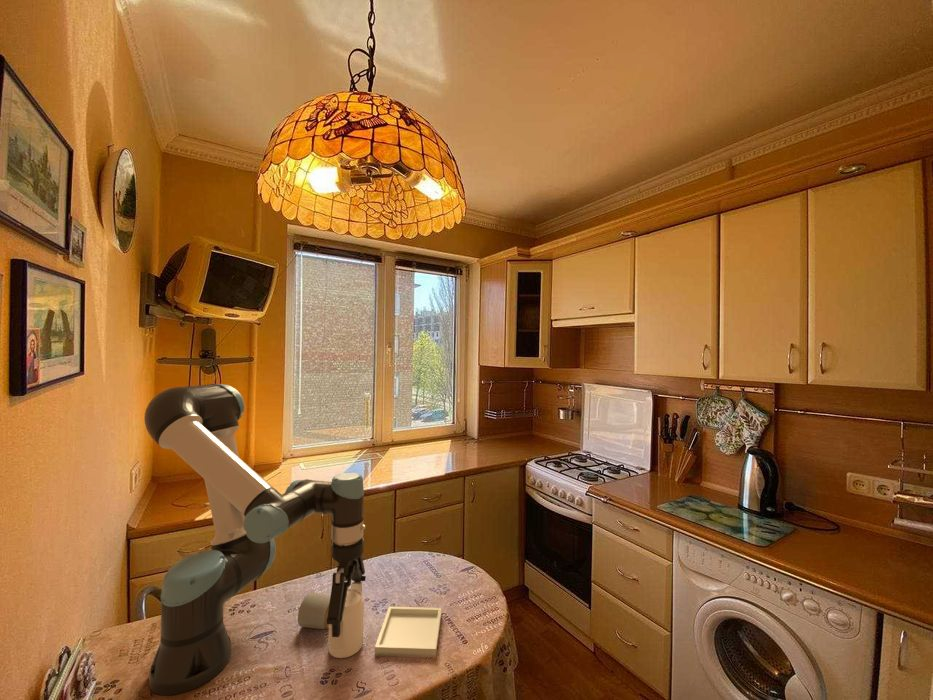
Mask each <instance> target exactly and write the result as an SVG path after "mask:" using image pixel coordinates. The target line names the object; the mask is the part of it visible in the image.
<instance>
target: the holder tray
mask: <svg viewBox="0 0 933 700" xmlns="http://www.w3.org/2000/svg"><path fill="white" fill-rule="evenodd" d="M442 610H443V609H442V607H418V606H417V607H415V606H413V607H412V606H388V609H387V611H386V615H385V616H384V620H383V623H382V626H381V628H380V632H379V635H378V637H377V640H376V643H375V646H374V656H377V657H402V658H403V657H404V658H407V657H411V658H436V659H437V651H438V645H439V636H440V630H441V623H442V622H441V621H442Z"/></svg>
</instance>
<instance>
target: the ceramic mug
mask: <svg viewBox="0 0 933 700" xmlns="http://www.w3.org/2000/svg"><path fill="white" fill-rule="evenodd" d="M330 596H331V595H327V594H323V593H318V592H313V591H310V592H308V593H307V594H306V595H305V596H304V598H303V599H302V600H301V603H300V607H299V609H298V614H297V624H298V626H299V627H300V628H309V629H318V630H329V624H327V621H326V620H327V617H328V610H329V603H330Z"/></svg>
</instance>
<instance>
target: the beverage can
mask: <svg viewBox="0 0 933 700" xmlns="http://www.w3.org/2000/svg"><path fill="white" fill-rule="evenodd" d="M364 611H365V600H364V596H363V593H362V594H361V592H360V591H358V590H356V589H351V588H348V591H347V596H346V601H345V606H344V612H343V617H342V618H344V648H343V649H331V624H329V628H328V644H327V645H328V647H327V648H328V652H329V654H330V655H331V656H332V657H334V658H337V659H345V658H349V657H351V656H354V655H355V654H357V653H358V652H359V651H360V650H361V648H362V647H363V644H364V616H365V614H364Z"/></svg>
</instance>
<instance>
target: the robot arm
mask: <svg viewBox="0 0 933 700" xmlns="http://www.w3.org/2000/svg"><path fill="white" fill-rule="evenodd" d="M243 412H245V401H244V399H243V396H242V394H241V393H240V392H239V391H238V390H237V389H236V388H234V387H233V386H231V385H229V384H226V383H225V384H223V383H220V384H218V383H211V384H209V383H208V384H201V385H200V384H199V385H190V386H174V387H170V388H167V389H164V390H162V391H160V392H159V393H157V395H155V396H153V398H152V399H151V400H150V402H149V403H148V404H147V407H146V408H145V413H144V425H145V429H146V432H147V433H148V434H149V436H150V438H151V439H152V440H153V441H154V442H155V443H156V444H157V445H158V446H160V447H161V448H162V449H165V450H172V451H173V452H174V453H175V454H176V455H177V456H178V457H180V458H181V459H182V460H183V461H184V462H185V463H186V464H187V465H188V466H190V467H191V469H193V471H195V472H196V473H197V474H199V476H201V477H202V478H203V480H204V484H205V490H206V493H207V497H208V498H207V499H208V503H209V508H210V513H211V517H212V521H213V522H212V523H213V526H214V532H215V534H214V537H213V538H212V539H211V541H210V542H209V543H210V548H211V549H207V550H202V551H198V553H193V554H190V555H188V556H186V557H184V558H182V559H180V560H179V561H177V562H175V564H174V565H172V566H171V567H170V568H169V569H168V570H167V572H166V573H165V574H164V577H163V579H162V586H161V591H160V603H161V609H160V614H161V615H160V616H161V617H160V643H159V646H158V648H157V650H156V653H155V655H154V658H153V660H152V664H151V666H150V670H149V674H148V686H149V690H151V692H153V694H154V693H155V694H157V695H159V696H160V695H161V696H174V695H179V694H182V693H183V694H184V693H185V692H189V691H191V690H194V689H196V688H198V687H200V686H203V685H204V684H205V683H207V682H208V681H210V680H211V679H213V678H214V677H216V676H217V675H219V674H220V672H221V671H222V670H223V669H224V668H225V667H226V666H227V664H228V663H229V661H230V658H231V656H232V640H231V637H230V636H229V634H228V630H227V629H226V625H225V623H224V608H225V607H224V605H225V603H226V602H228V601H229V600H230V599H231V598H233V597H234V596H236V595H237V594H239V593H240V592H241V591H242V590H243V589H245V588H246V587H248V586H249V585H251V584H252V583H253V582H255V581H257V580H259V579H260V578H261V576H263V574H265V573H266V572H267V571H268V570H269V569H270V567H271V566H272V565H273V563H274V562H275V558H276V553H277V551H276V549H277V548H276V542H275V539H276V538H278V537H281V536H282V535H283V534H284V533H285V532H287V531H288V530H290V529H291V528H292V527H294V526H295V525H297V524H298V523H300V522H302V521H303V520H305V519H306V518H309V517H310V516H311V515H313V514H322V515H331V538H330V539H331V558H332V559H333V560H334V561H335V562H337V563H338V566H337V567H336V572H333V573H332V581H331V589H330V590H331V591H330V595H329V596H330V603H329V610H328V617H327V620H326V621H327V624H331V649H343V648H344V618H342V617H343V612H344V606H345V601H346V596H347V591H348V589H349V587H350V589H356V590H358V591H360V592H361V594H362V595H363V582H365V581H366V580H367V579H366V575H365V573H366V569H365V564H364V560H363V554H364V552H365V551H364V550H365V549H364V548H365V546H364V545H365V543H364V542H365V541H364V540H365V538H364V530H366V525H365V524H364V501H365V499H364V496H365V490H364V489H365V488H364V478H363V476H362V475H361V474H360V473H357V472H343V473H338V474H336V475H334V476H333V477H332V479H331V481H325V480H314V479H313V480H312V479H308V478H307V479H295V480H293V481H292V482H291V483H290V484H289V486H288V487H286V490H285V492H284V493H280V492H279V491H278V490H277V489H276V488H274V487H273V486H272V485H271V484H270V483H268V481H266V480H265V479H264V478H263V476H261V475H260V474H259V473H257V471H255V470H254V469H253V468H252V467H250V466H249V464H247V463H246V462H245V461H244V460H242V458H240V455H239V451H238V445H237V441H236V437H235V434H236V432H237V431H238V429H239V428H240V425H239V420H240V419H241V418H242V417H243Z"/></svg>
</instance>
